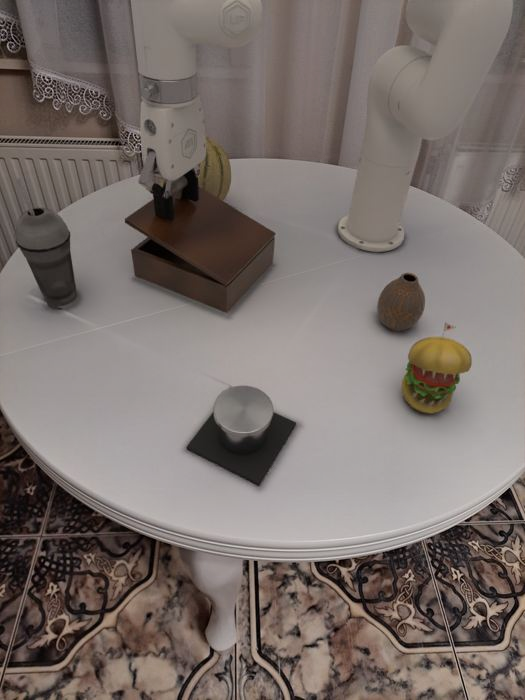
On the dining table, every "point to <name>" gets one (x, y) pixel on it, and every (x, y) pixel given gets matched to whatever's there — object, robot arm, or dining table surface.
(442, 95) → the robot arm
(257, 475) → the mat
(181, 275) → the chest
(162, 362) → the dining table surface
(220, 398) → the bowl
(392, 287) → the vase
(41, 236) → the beverage cup
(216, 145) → the cantaloupe
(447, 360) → the hamburger
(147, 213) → the lid
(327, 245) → the dining table surface
